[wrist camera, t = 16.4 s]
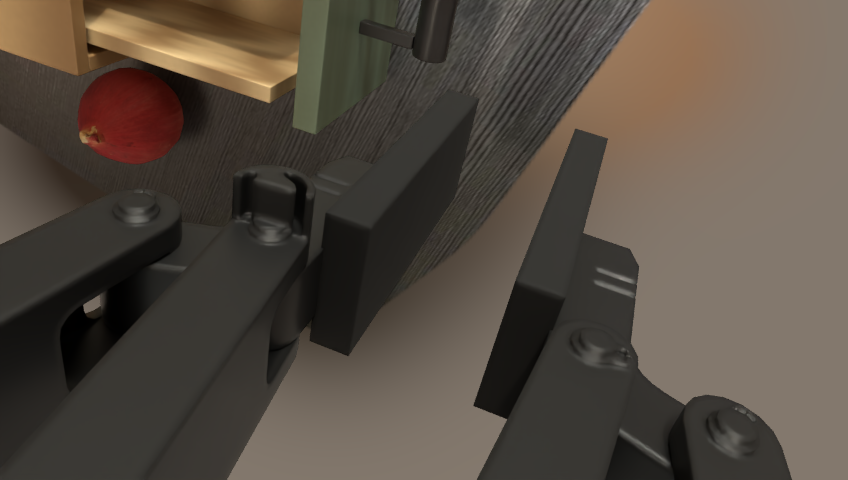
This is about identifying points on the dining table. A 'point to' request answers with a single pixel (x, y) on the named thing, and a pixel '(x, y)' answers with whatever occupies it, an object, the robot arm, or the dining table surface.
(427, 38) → the drawer
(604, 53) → the dining table surface
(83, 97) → the red pomegranate
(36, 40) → the cabinet
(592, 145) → the robot arm
